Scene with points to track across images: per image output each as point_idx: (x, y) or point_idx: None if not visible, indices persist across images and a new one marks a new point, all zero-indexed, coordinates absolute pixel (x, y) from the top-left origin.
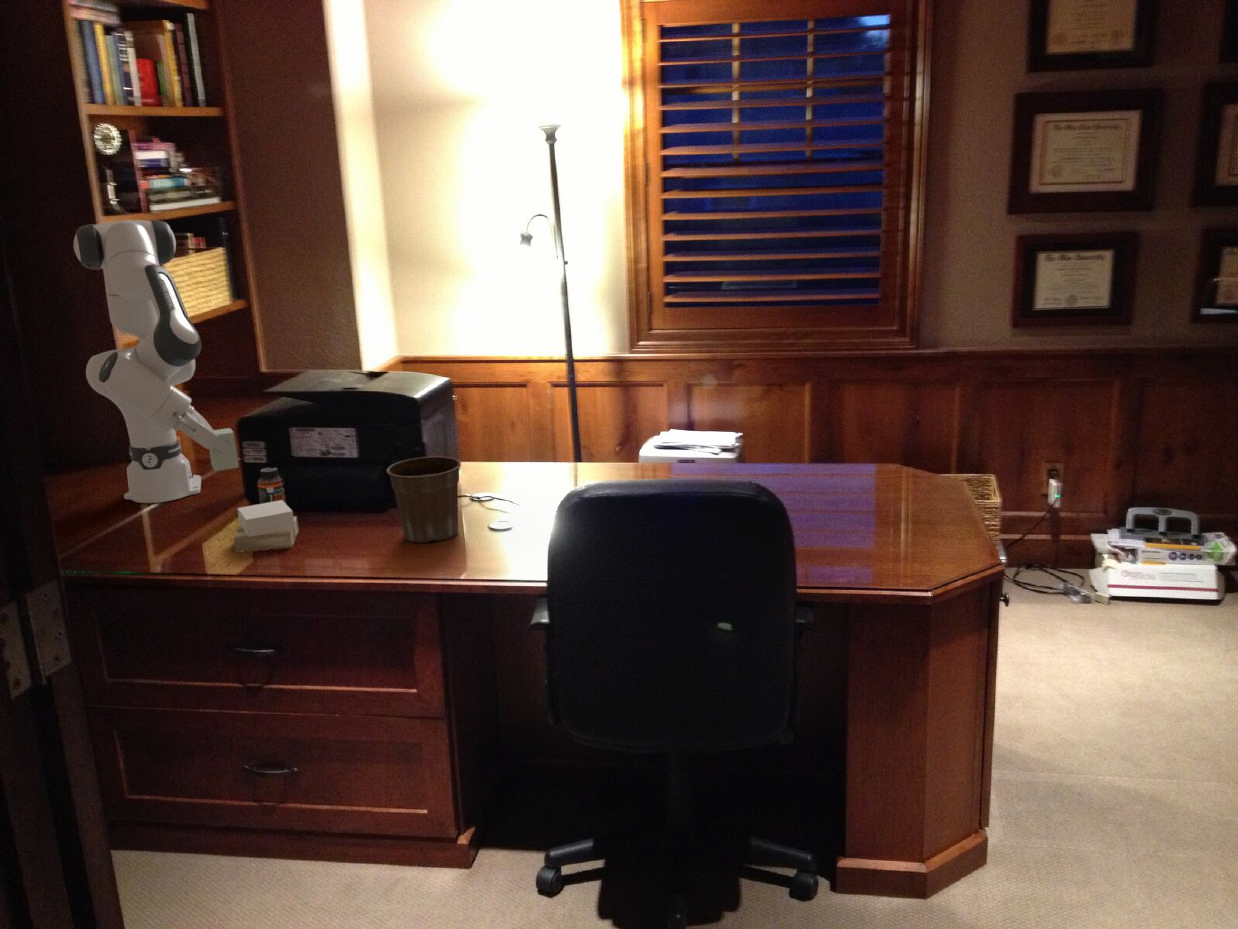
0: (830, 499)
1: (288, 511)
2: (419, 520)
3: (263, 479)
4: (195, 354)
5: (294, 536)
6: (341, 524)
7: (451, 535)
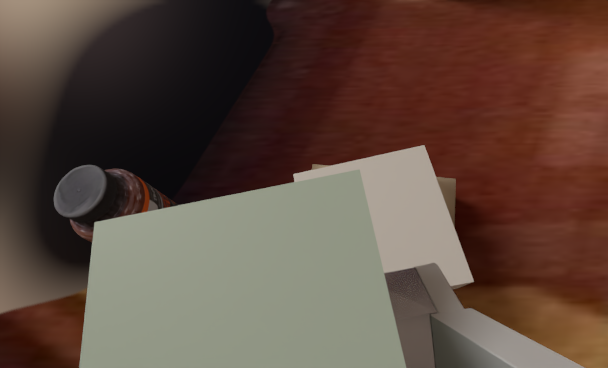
0: None
1: (422, 155)
2: None
3: (112, 217)
4: None
5: None
6: (317, 97)
7: None
